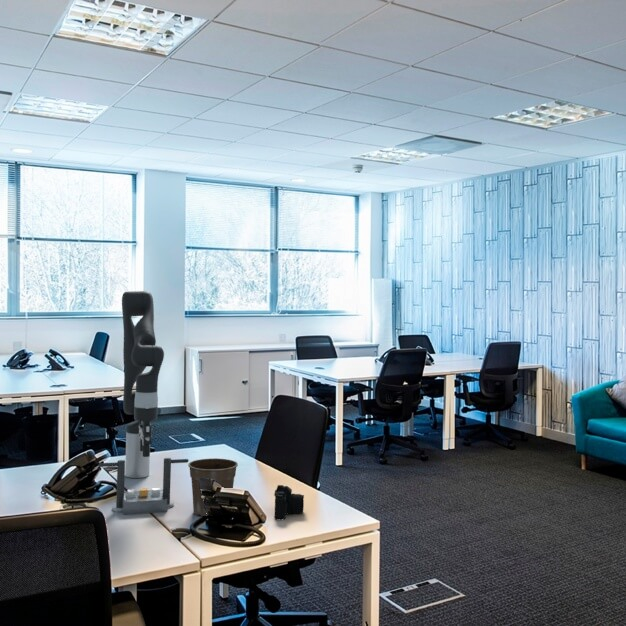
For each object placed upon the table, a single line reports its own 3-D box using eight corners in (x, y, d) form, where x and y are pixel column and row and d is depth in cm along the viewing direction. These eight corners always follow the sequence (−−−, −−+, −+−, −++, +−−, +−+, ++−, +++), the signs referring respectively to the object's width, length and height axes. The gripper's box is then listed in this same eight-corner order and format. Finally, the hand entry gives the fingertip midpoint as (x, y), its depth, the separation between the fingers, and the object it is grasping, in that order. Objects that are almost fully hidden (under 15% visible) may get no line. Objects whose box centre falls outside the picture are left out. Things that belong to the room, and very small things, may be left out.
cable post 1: (97, 508, 221) (98, 460, 220) (127, 506, 224) (128, 458, 224) (97, 513, 216) (99, 463, 216) (128, 511, 219) (129, 462, 219)
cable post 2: (157, 504, 227) (158, 457, 227) (186, 502, 231) (187, 456, 231) (159, 508, 223) (160, 460, 222) (188, 506, 226) (189, 459, 226)
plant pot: (182, 506, 226) (183, 459, 226) (229, 502, 232) (230, 456, 232) (192, 522, 211) (193, 471, 210) (242, 517, 217) (243, 467, 216)
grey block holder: (120, 503, 227) (120, 486, 226) (162, 500, 231) (162, 483, 231) (122, 514, 215) (123, 496, 215) (167, 511, 220) (167, 493, 220)
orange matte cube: (139, 494, 224) (139, 488, 224) (146, 494, 225) (147, 488, 225) (140, 496, 222) (140, 490, 222) (147, 496, 223) (147, 490, 223)
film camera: (302, 521, 215) (303, 493, 215) (272, 520, 215) (272, 492, 215) (304, 507, 230) (305, 481, 230) (275, 506, 230) (276, 480, 230)
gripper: (132, 402, 228) (131, 449, 228) (136, 408, 215) (135, 459, 215) (155, 401, 231) (153, 448, 231) (160, 408, 218) (158, 458, 218)
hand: (144, 453), depth 223 cm, fingers open, 8 cm apart
